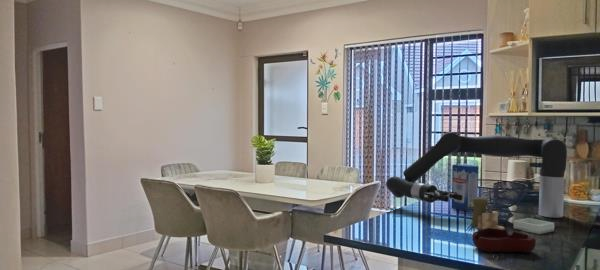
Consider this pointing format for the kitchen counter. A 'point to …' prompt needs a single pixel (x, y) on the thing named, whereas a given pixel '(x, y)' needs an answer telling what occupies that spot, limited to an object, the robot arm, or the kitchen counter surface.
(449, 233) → the kitchen counter surface
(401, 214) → the kitchen counter surface
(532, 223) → the tray
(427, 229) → the kitchen counter surface
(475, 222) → the cork
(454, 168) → the milk carton
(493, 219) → the bracket
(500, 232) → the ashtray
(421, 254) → the kitchen counter surface
